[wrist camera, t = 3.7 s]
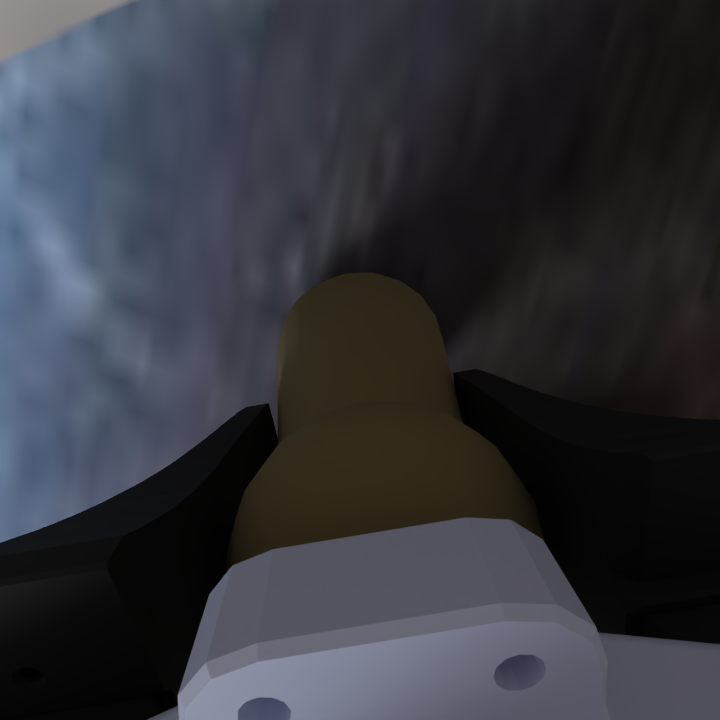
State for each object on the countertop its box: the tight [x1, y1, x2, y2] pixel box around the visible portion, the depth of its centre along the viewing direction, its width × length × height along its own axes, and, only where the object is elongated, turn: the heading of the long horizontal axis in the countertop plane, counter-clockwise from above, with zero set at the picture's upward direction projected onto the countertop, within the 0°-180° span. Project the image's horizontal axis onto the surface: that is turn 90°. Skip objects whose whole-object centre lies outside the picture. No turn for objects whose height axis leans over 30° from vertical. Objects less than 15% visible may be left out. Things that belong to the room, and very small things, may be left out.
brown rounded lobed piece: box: [227, 273, 544, 572], centre depth 11 cm, size 6×6×11 cm
